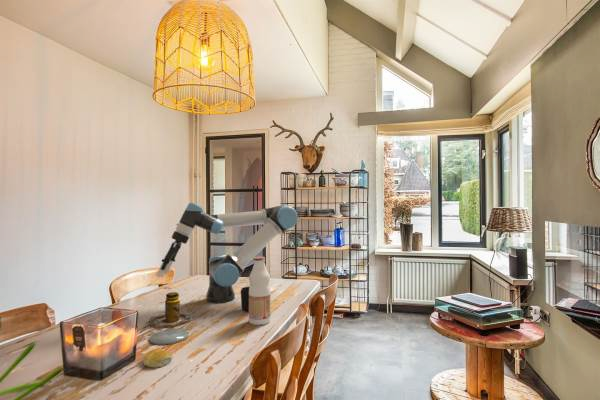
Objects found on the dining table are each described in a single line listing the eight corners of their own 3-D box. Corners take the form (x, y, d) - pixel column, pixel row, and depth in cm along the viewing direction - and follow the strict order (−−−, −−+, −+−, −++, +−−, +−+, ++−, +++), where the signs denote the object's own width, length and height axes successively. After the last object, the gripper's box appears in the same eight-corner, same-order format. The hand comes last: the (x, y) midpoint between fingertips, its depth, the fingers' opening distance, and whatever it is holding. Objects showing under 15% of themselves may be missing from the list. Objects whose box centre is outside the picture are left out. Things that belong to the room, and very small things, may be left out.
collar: (191, 313, 163) (191, 309, 163) (189, 325, 146) (189, 321, 146) (152, 316, 159) (152, 312, 159) (145, 329, 142) (145, 325, 142)
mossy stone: (159, 354, 119) (159, 343, 119) (176, 361, 114) (176, 349, 114) (137, 364, 112) (137, 351, 112) (154, 371, 107) (154, 358, 107)
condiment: (182, 321, 152) (182, 294, 152) (161, 325, 147) (161, 297, 147) (178, 317, 158) (178, 290, 158) (158, 320, 153) (158, 293, 153)
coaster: (189, 329, 142) (189, 327, 142) (187, 342, 129) (187, 340, 129) (153, 332, 139) (153, 330, 139) (146, 346, 125) (146, 344, 125)
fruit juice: (252, 326, 145) (252, 259, 145) (246, 320, 153) (245, 256, 153) (273, 323, 149) (273, 258, 149) (266, 317, 157) (265, 255, 158)
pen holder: (264, 308, 171) (264, 287, 171) (252, 313, 163) (252, 292, 163) (248, 305, 175) (248, 285, 175) (236, 310, 167) (236, 289, 167)
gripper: (178, 230, 179) (159, 268, 175) (171, 229, 155) (148, 274, 151) (192, 236, 180) (173, 274, 176) (186, 236, 156) (164, 281, 152)
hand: (161, 274), depth 164 cm, fingers open, 13 cm apart
